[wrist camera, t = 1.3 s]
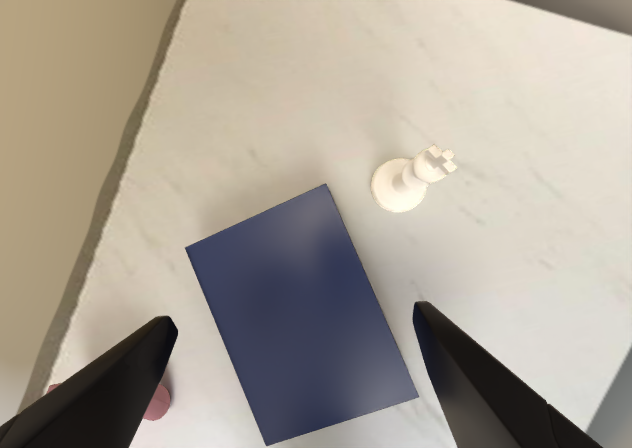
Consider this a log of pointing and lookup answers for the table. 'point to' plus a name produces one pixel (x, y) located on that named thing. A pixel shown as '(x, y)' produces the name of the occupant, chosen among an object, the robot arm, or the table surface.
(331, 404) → the blue book
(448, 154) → the chess piece
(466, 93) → the table surface
